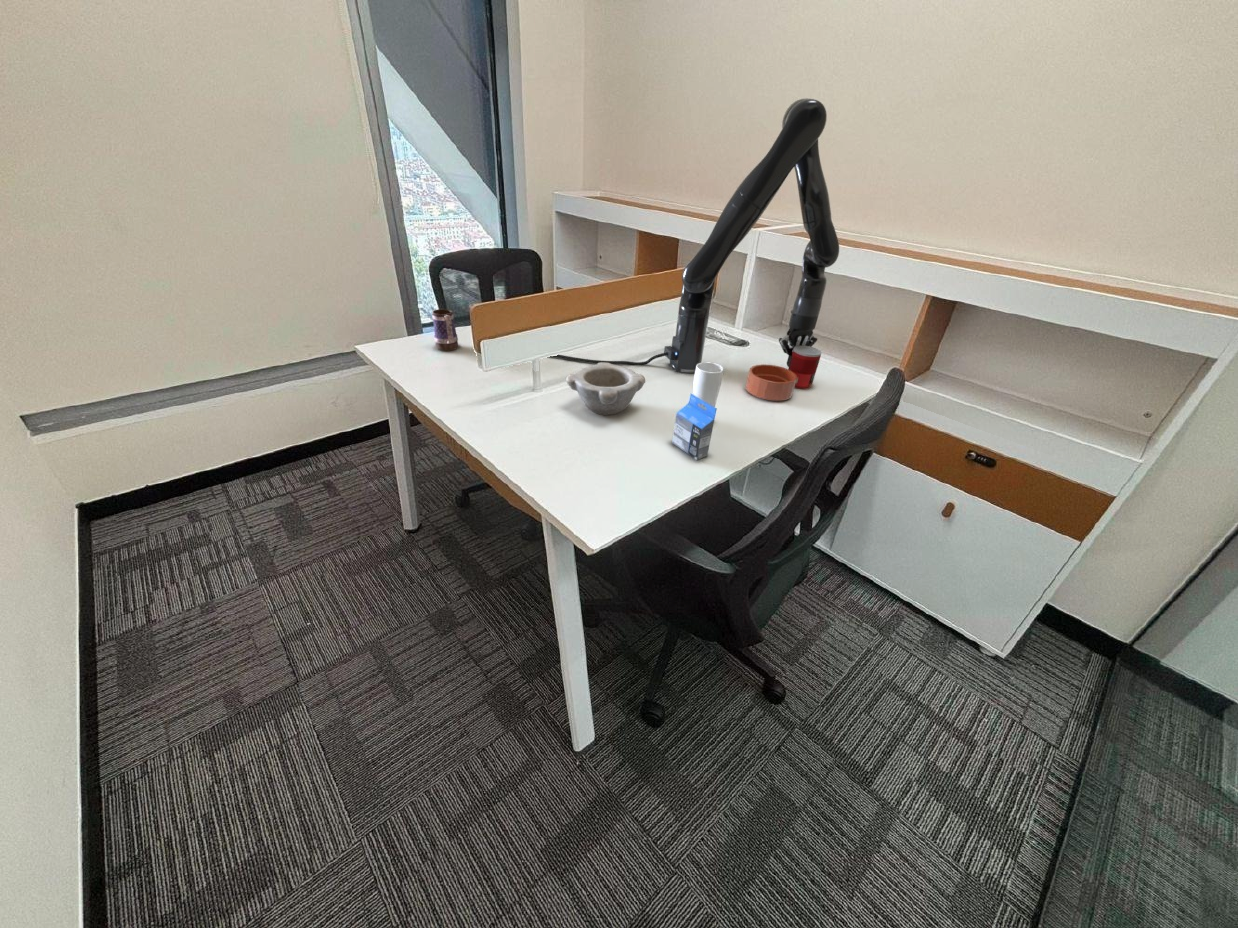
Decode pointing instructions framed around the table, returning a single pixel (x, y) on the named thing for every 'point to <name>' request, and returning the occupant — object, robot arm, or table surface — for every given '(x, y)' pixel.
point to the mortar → (606, 387)
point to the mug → (444, 330)
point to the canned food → (804, 365)
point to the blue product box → (694, 427)
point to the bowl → (771, 382)
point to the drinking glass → (707, 382)
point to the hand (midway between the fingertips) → (790, 366)
